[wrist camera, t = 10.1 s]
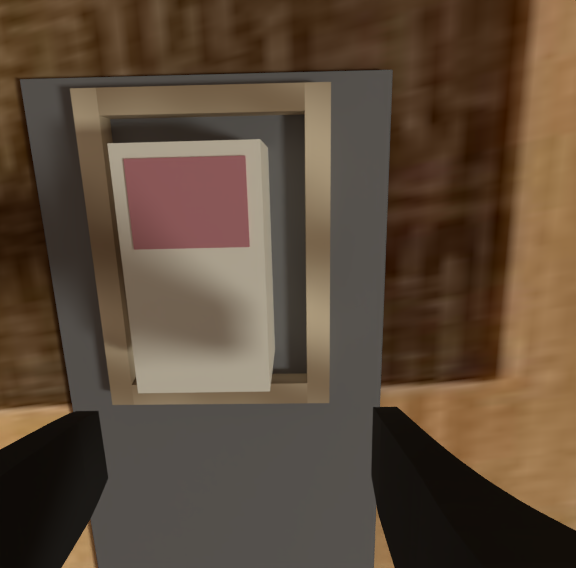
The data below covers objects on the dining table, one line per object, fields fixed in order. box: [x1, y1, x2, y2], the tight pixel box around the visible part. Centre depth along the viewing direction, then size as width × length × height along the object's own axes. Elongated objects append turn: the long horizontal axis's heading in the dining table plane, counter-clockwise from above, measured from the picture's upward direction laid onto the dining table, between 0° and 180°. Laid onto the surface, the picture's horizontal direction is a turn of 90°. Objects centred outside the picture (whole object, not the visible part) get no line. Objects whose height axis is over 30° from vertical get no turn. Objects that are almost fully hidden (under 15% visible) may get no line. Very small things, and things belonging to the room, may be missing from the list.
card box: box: [107, 139, 275, 393], centre depth 17 cm, size 9×5×4 cm, turn 1°
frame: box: [70, 82, 331, 405], centre depth 18 cm, size 14×10×1 cm
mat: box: [20, 70, 393, 568], centre depth 20 cm, size 26×15×1 cm, turn 1°
